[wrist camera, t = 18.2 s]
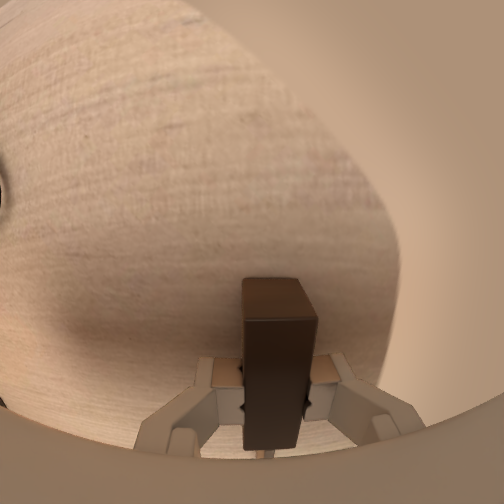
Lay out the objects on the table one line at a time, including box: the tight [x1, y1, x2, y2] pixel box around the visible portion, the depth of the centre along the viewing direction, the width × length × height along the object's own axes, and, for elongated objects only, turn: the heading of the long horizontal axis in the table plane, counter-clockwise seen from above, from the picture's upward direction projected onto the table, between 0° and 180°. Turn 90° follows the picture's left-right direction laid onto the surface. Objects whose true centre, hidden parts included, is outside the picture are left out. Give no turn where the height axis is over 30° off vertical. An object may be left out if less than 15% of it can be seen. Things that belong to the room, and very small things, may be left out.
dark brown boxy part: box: [242, 279, 319, 459], centre depth 10 cm, size 2×12×3 cm, turn 179°
